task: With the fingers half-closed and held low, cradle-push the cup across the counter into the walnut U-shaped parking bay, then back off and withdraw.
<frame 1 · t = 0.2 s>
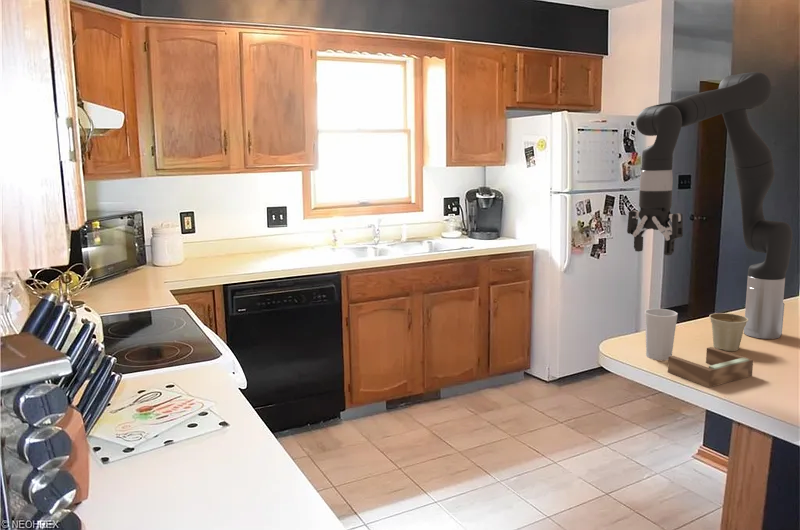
hand: (653, 253, 155), 28 cm above the counter, fingers open, 8 cm apart
bay: (709, 373, 149), on the counter
cup: (658, 357, 162), on the counter
flower pot: (726, 348, 168), on the counter
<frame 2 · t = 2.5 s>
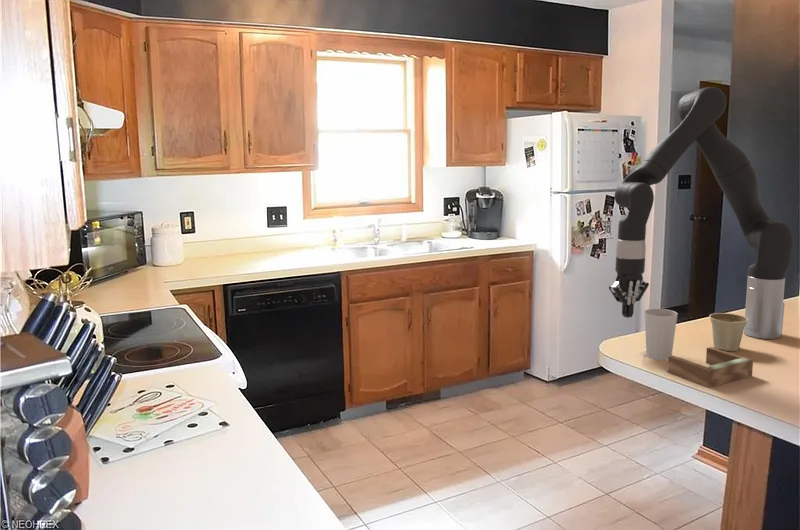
hand: (627, 316, 171), 8 cm above the counter, fingers closed
nothing on the counter moved.
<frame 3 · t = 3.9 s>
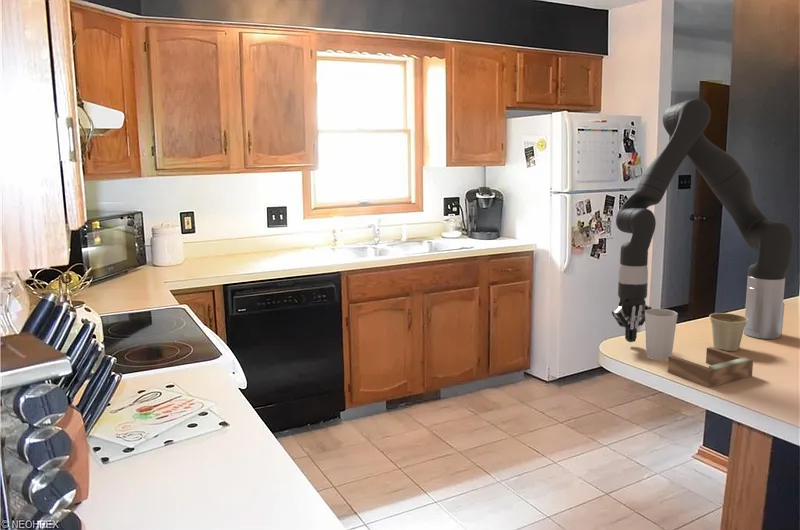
hand: (630, 341, 171), 1 cm above the counter, fingers closed
nothing on the counter moved.
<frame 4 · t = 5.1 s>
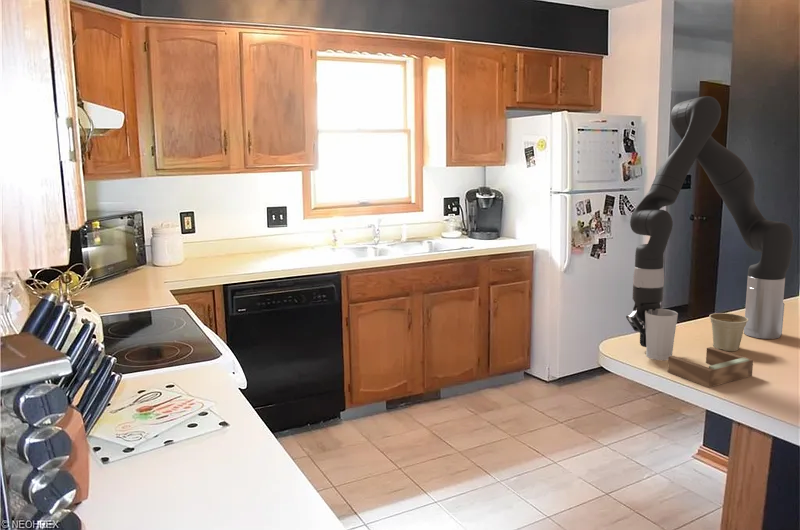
hand: (645, 346, 166), 1 cm above the counter, fingers closed
cup: (659, 357, 162), on the counter, touching gripper
everything else where it was.
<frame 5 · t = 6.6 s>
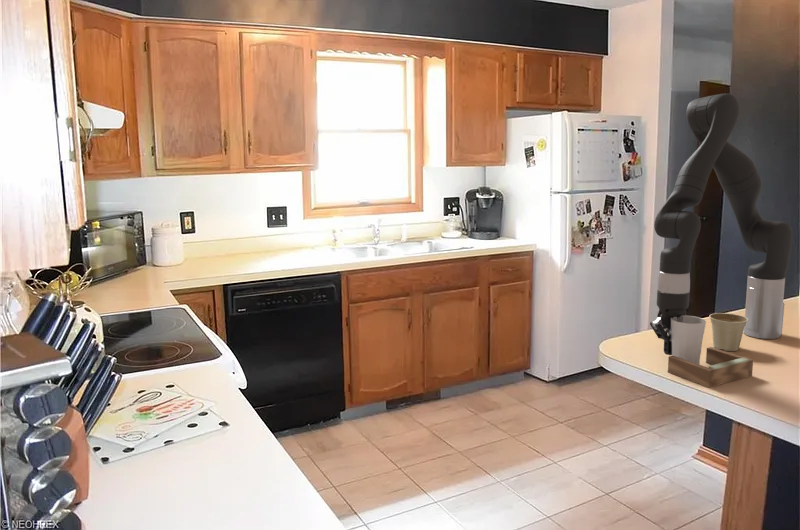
hand: (669, 354, 159), 2 cm above the counter, fingers closed
cup: (685, 366, 155), on the counter, touching gripper
everything else where it was.
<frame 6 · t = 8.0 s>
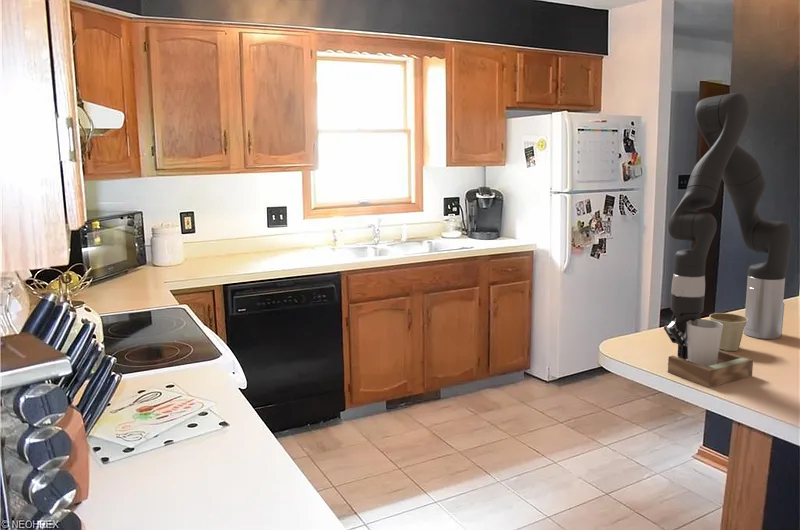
hand: (683, 358, 155), 2 cm above the counter, fingers closed
cup: (701, 371, 151), on the counter, touching gripper
everything else where it was.
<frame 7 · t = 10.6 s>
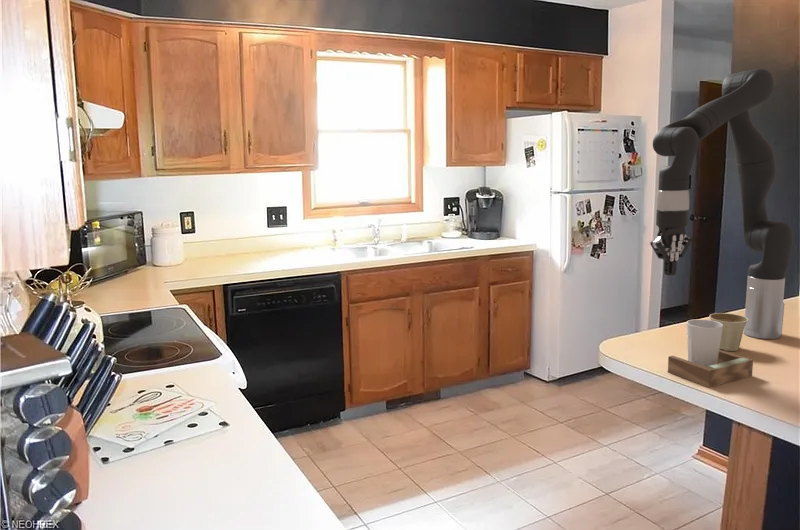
hand: (669, 274, 158), 22 cm above the counter, fingers closed
cup: (701, 371, 151), on the counter
everything else where it was.
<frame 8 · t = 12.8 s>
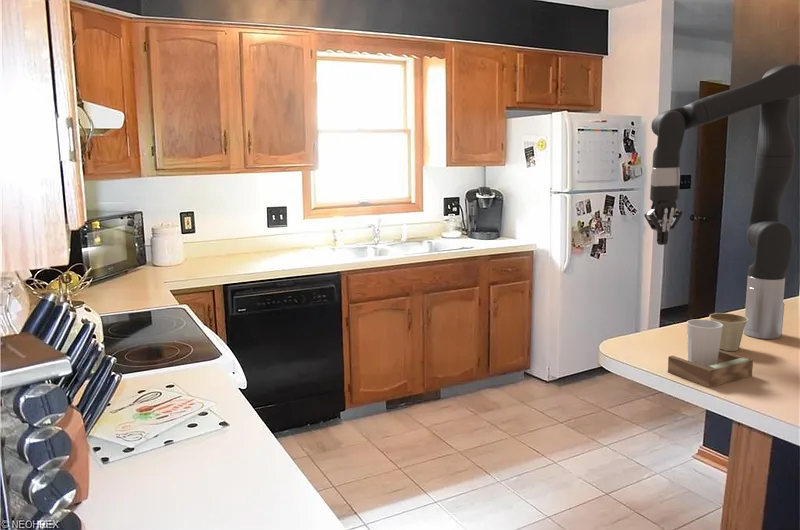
hand: (662, 244, 176), 27 cm above the counter, fingers closed
nothing on the counter moved.
at the end: cup inside the target area (1.9 cm from its centre), on the counter; cup tilted 0° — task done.
